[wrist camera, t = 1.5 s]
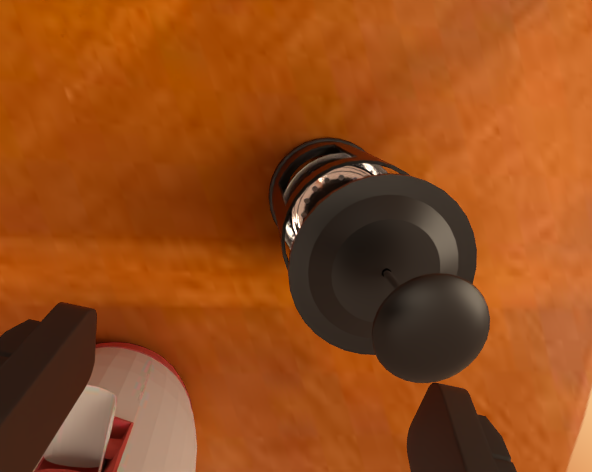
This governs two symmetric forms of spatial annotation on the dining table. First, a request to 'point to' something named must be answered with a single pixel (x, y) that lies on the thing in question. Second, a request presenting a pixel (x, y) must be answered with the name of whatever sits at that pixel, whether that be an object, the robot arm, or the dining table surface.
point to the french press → (379, 261)
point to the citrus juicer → (126, 418)
